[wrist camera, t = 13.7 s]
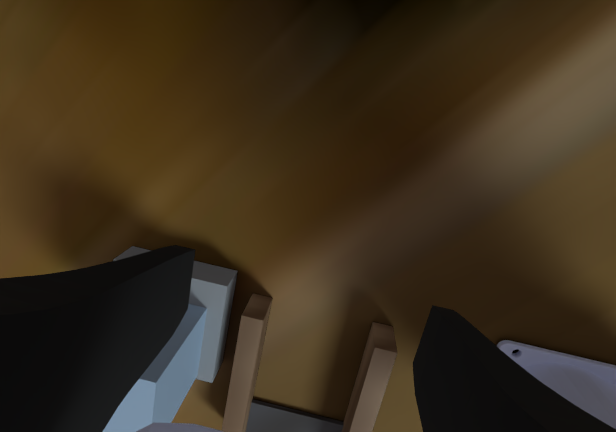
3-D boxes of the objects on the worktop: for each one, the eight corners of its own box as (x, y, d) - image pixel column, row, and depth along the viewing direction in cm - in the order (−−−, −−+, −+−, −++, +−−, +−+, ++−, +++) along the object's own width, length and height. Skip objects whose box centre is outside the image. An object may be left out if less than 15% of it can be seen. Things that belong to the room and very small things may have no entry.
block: (207, 308, 22) (156, 382, 16) (197, 374, 24) (147, 465, 18) (128, 289, 22) (51, 356, 17) (123, 356, 24) (50, 440, 18)
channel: (393, 326, 23) (397, 352, 21) (352, 455, 27) (352, 491, 24) (252, 293, 24) (241, 315, 21) (229, 424, 27) (217, 456, 24)
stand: (237, 271, 24) (227, 286, 22) (222, 361, 25) (212, 382, 24) (132, 246, 24) (113, 259, 22) (125, 337, 26) (107, 357, 24)
